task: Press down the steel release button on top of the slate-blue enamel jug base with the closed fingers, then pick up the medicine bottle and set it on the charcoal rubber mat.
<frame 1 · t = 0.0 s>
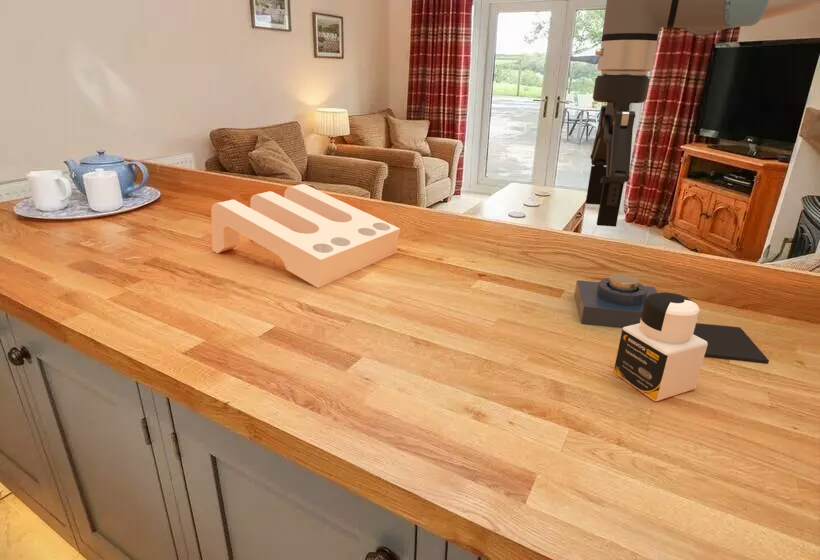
hand: (599, 214, 81), 16 cm above the counter, tool pointing down, fingers open, 13 cm apart
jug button: (623, 283, 81), point 5 cm above the counter, slide at 0.1 cm
mat: (716, 342, 74), on the counter
bracket: (306, 253, 108), on the counter
medicine bottle: (652, 382, 65), on the counter
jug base: (617, 313, 83), on the counter
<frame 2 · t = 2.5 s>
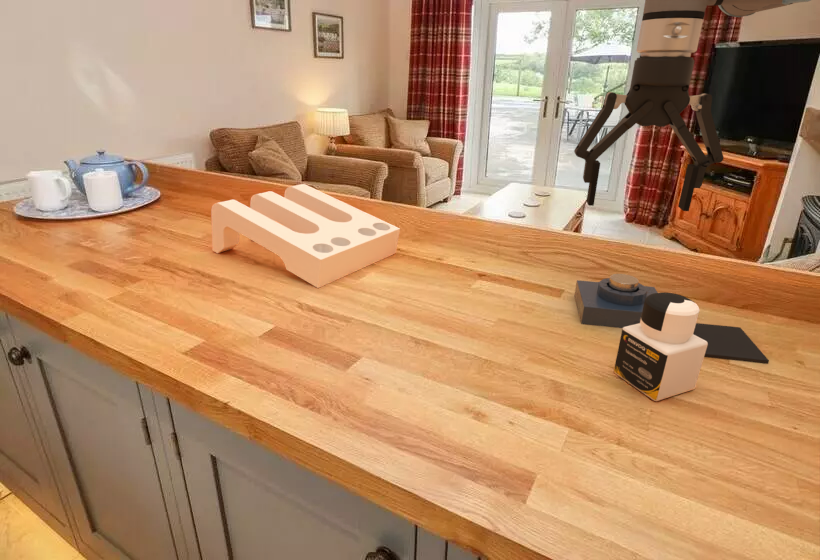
hand: (635, 206, 76), 18 cm above the counter, tool pointing down, fingers open, 13 cm apart
nothing on the counter moved.
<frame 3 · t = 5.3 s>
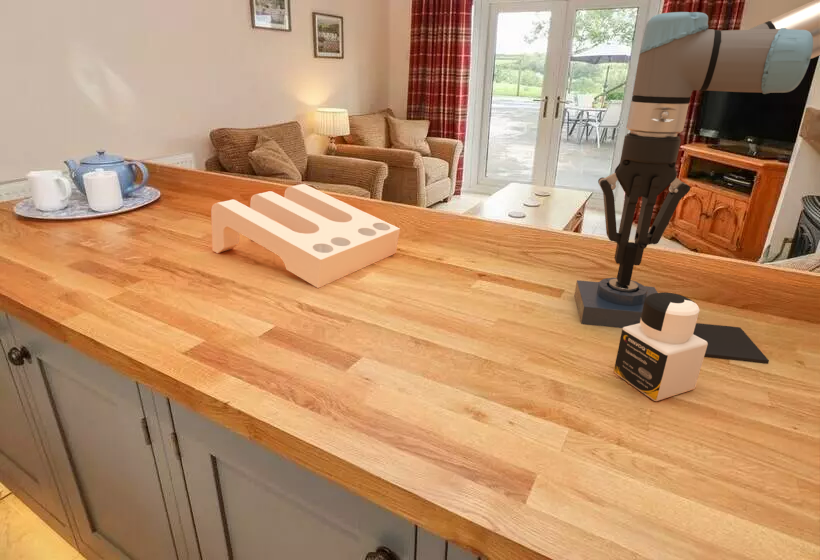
hand: (623, 282, 81), 6 cm above the counter, tool pointing down, fingers closed
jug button: (622, 288, 81), point 5 cm above the counter, slide at -0.8 cm, touching gripper
everything else where it was.
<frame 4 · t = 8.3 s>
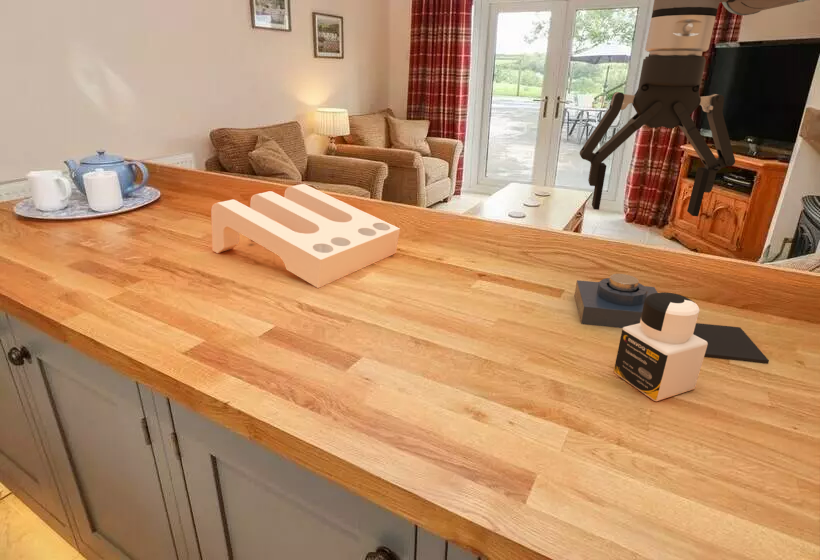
hand: (642, 210, 73), 18 cm above the counter, tool pointing down, fingers open, 13 cm apart
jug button: (623, 283, 81), point 5 cm above the counter, slide at 0.1 cm
everything else where it was.
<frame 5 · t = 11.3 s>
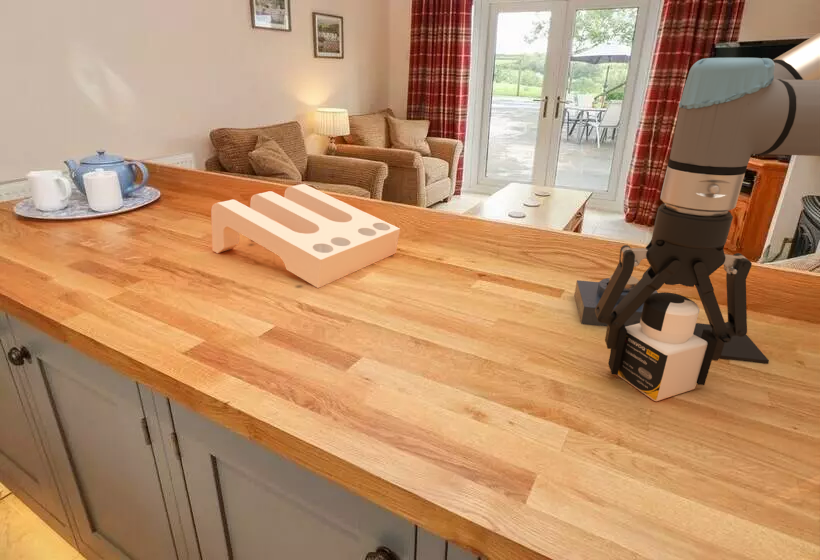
hand: (654, 373, 64), 1 cm above the counter, tool pointing down, fingers closed on medicine bottle, 10 cm apart
medicine bottle: (652, 382, 65), on the counter, touching gripper
everything else where it was.
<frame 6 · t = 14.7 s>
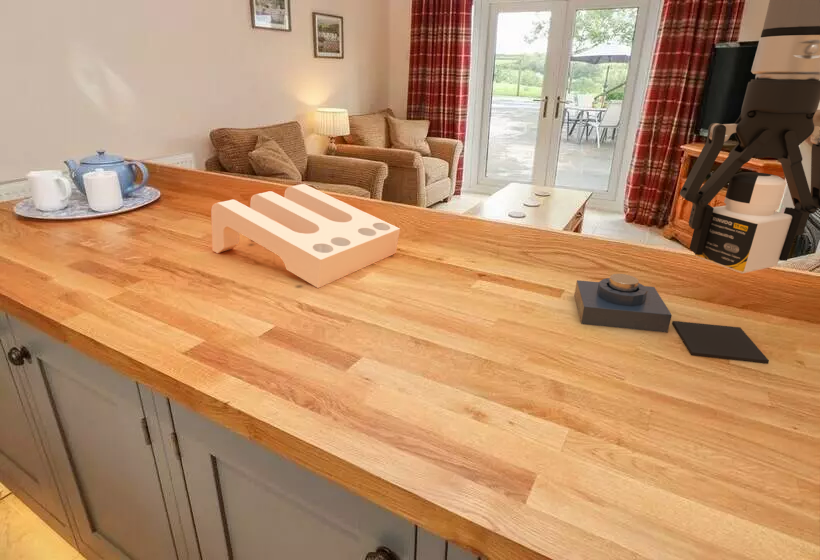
hand: (736, 254, 67), 15 cm above the counter, tool pointing down, fingers closed on medicine bottle, 10 cm apart
medicine bottle: (734, 263, 67), point 13 cm above the counter, touching gripper
everything else where it was.
when the fingers open (2 cm above the counter, at t = 18.3 s): medicine bottle stays where it is, resting on mat.
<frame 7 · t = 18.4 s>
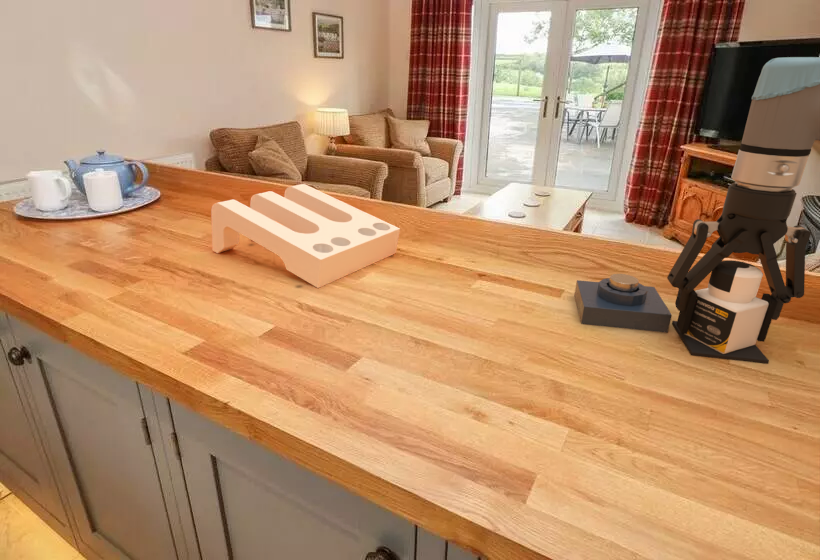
hand: (718, 333, 74), 2 cm above the counter, tool pointing down, fingers open, 10 cm apart
medicine bottle: (716, 340, 74), resting on mat
everything else where it was.
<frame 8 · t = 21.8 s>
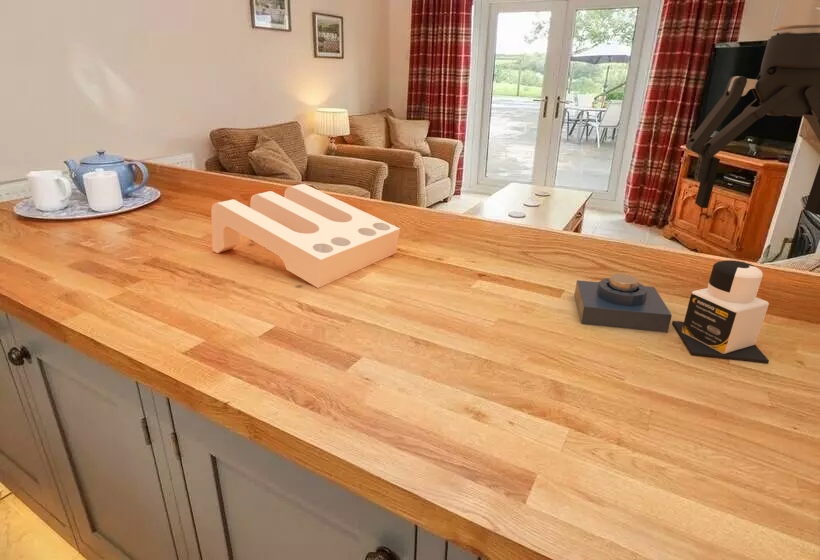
hand: (755, 209, 66), 21 cm above the counter, tool pointing down, fingers open, 13 cm apart
nothing on the counter moved.
at the end: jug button pushed in 1.0 cm at the most during the clip, back to where it started at the end; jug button slide at 0.1 cm; medicine bottle inside the target area on the mat (0.0 cm from its centre), point 0.4 cm above the mat's base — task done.
